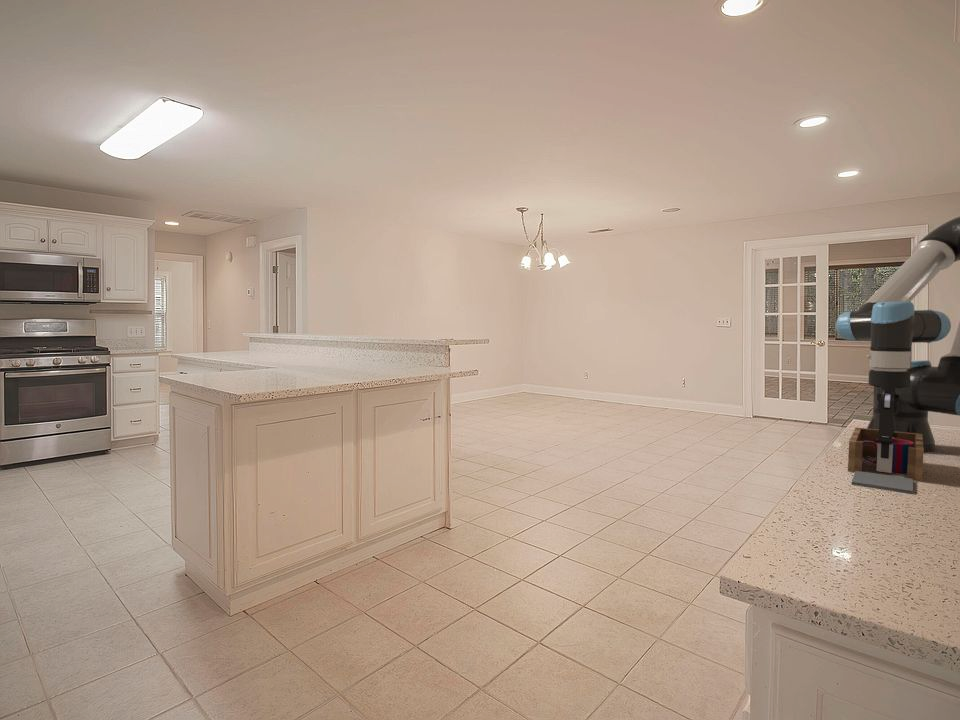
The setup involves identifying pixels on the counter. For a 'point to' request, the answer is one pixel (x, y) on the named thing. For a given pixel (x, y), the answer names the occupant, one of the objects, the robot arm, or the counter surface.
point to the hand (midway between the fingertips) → (884, 467)
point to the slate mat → (883, 482)
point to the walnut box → (870, 450)
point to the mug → (896, 455)
